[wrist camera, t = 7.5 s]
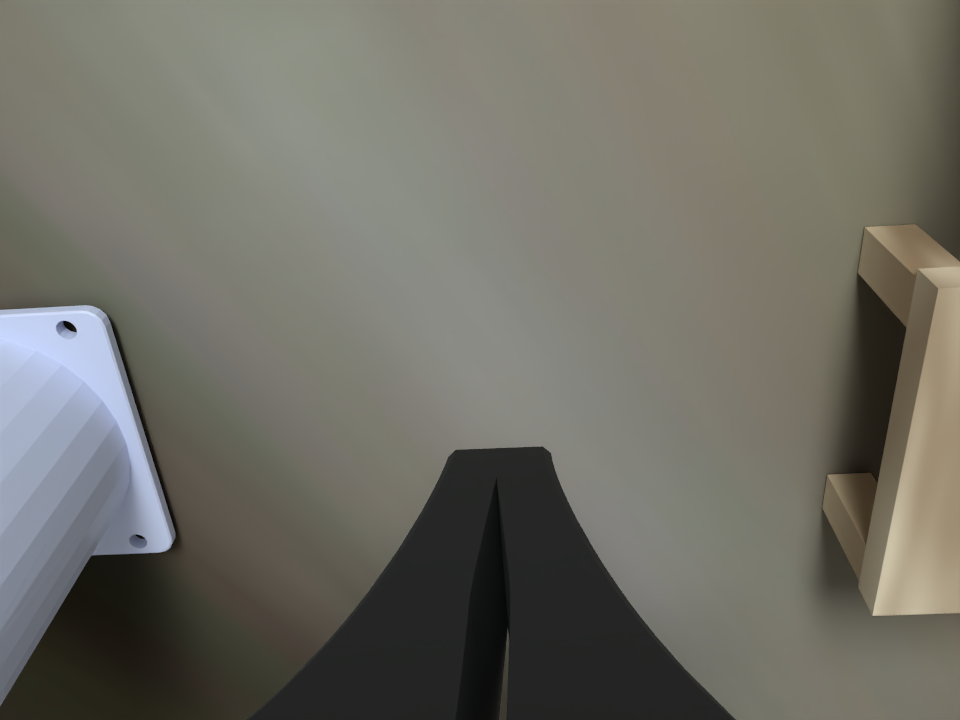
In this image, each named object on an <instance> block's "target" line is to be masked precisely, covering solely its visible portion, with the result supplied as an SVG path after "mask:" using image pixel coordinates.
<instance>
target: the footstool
mask: <svg viewBox="0 0 960 720" xmlns="http://www.w3.org/2000/svg"><path fill="white" fill-rule="evenodd" d="M858 274H859V275H860V276H861V277H862V278H863V279H864V280H865V281H866V283H867V284H868V285H869V286H870V287H871V288H872V289H873V290H874V292H875V293H876V294H877V295H878V296H879V297H880V298H881V299H882V301H883V302H884V303H885V304H886V305H887V306H888V307H889V309H890V310H891V311H892V312H893V313H894V314H895V315H896V316H897V318H898V319H899V320H900V321H901V322H902V323H903V324H904V325H905V327H906V328H907V329H906V335H905V340H904V345H903V351H902V356H901V361H900V367H899V372H898V377H897V383H896V388H895V393H894V399H893V404H892V409H891V415H890V420H889V425H888V431H887V436H886V441H885V447H884V452H883V457H882V463H881V468H880V473H879V479H878V484H877V482H876V481H875V479H874V477H873V476H872V474H871V473H854V474H830V475H827V480H826V487H825V493H824V500H823V507H822V509H823V511H824V513H825V515H826V516H827V518H828V520H829V522H830V524H831V526H832V528H833V530H834V532H835V534H836V536H837V538H838V540H839V542H840V544H841V546H842V548H843V550H844V552H845V554H846V556H847V558H848V560H849V562H850V564H851V566H852V568H853V570H854V572H855V574H856V576H857V578H858V580H859V586H858V588H859V590H860V592H861V594H862V596H863V598H864V600H865V602H866V604H867V606H868V608H869V610H870V612H871V614H872V616H884V615H914V614H943V613H960V262H959V261H958V260H957V259H956V258H955V257H954V256H952V255H951V254H950V253H949V252H948V251H946V250H945V249H944V248H943V247H942V246H941V245H939V244H938V243H937V242H936V241H935V240H934V239H932V238H931V237H930V236H929V235H928V234H927V233H925V232H924V231H923V230H922V229H921V228H919V227H918V226H917V225H916V224H911V225H894V226H877V227H865V229H864V236H863V242H862V249H861V256H860V262H859V269H858Z"/></svg>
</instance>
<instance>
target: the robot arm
mask: <svg viewBox="0 0 960 720" xmlns="http://www.w3.org/2000/svg"><path fill="white" fill-rule="evenodd" d="M63 321H69V322H70V323H72V324H73V325H74V326H75V327H76V329H77V332H72V331H70V330H68V329H67V328H66V327H65V326H64V324H63ZM135 534H137V535H141V536H143V537H145V539H140V538H139V537H137V536H136V535H135ZM174 539H175V530H174V527H173V523H172V520H171V517H170V514H169V511H168V507H167V504H166V501H165V498H164V494H163V491H162V488H161V485H160V481H159V478H158V475H157V472H156V469H155V465H154V462H153V459H152V456H151V452H150V449H149V446H148V443H147V439H146V436H145V433H144V430H143V427H142V423H141V420H140V417H139V414H138V410H137V407H136V404H135V401H134V398H133V394H132V391H131V388H130V385H129V381H128V378H127V375H126V372H125V368H124V365H123V362H122V359H121V356H120V352H119V349H118V346H117V343H116V339H115V336H114V333H113V330H112V326H111V323H110V321H109V319H108V317H107V315H106V314H105V313H104V312H103V311H101V310H100V309H98V308H96V307H94V306H87V305H83V306H65V307H47V308H29V309H11V310H0V706H1V704H2V703H3V701H4V699H5V698H6V696H7V694H8V693H9V691H10V689H11V688H12V686H13V685H14V683H15V681H16V680H17V678H18V676H19V675H20V673H21V671H22V670H23V668H24V666H25V665H26V663H27V661H28V660H29V658H30V656H31V655H32V653H33V651H34V650H35V648H36V646H37V645H38V643H39V641H40V640H41V638H42V636H43V635H44V633H45V631H46V630H47V628H48V626H49V625H50V623H51V621H52V620H53V618H54V616H55V615H56V613H57V611H58V610H59V608H60V606H61V605H62V603H63V601H64V600H65V598H66V596H67V595H68V593H69V592H70V590H71V588H72V587H73V585H74V583H75V582H76V580H77V578H78V577H79V575H80V573H81V572H82V570H83V568H84V567H85V565H86V563H87V562H88V560H89V558H90V557H91V555H112V554H137V553H160V552H165V551H167V550H168V549H170V547H171V545H172V543H173V541H174ZM507 629H508V631H509V669H508V699H507V720H736V719H734V718H733V717H732V716H731V715H730V714H729V713H728V712H727V711H726V710H725V709H724V708H723V707H722V706H721V705H720V704H719V703H718V702H717V701H716V700H715V699H714V698H713V697H712V696H711V695H710V694H709V693H708V692H707V691H706V690H705V689H704V688H703V687H702V686H701V685H700V684H699V683H698V682H697V681H696V680H695V679H694V678H693V677H692V676H691V675H690V674H689V673H688V672H687V671H686V670H685V669H684V668H683V666H682V665H681V664H680V663H679V662H678V661H677V660H676V659H675V657H674V656H673V655H672V654H671V653H670V652H669V651H668V649H667V648H666V647H665V646H664V645H663V644H662V643H661V641H660V640H659V639H658V638H657V637H656V636H655V634H654V633H653V632H652V631H651V629H650V628H649V627H648V626H647V624H646V623H645V622H644V621H643V619H642V618H641V617H640V616H639V614H638V613H637V612H636V611H635V609H634V608H633V607H632V605H631V604H630V603H629V601H628V600H627V598H626V597H625V596H624V594H623V593H622V591H621V590H620V589H619V587H618V586H617V584H616V583H615V581H614V580H613V578H612V577H611V575H610V574H609V572H608V571H607V569H606V568H605V566H604V565H603V563H602V562H601V560H600V558H599V557H598V555H597V554H596V552H595V550H594V549H593V547H592V545H591V544H590V542H589V540H588V538H587V537H586V535H585V533H584V531H583V529H582V528H581V526H580V524H579V522H578V521H577V519H576V517H575V515H574V513H573V511H572V509H571V507H570V505H569V503H568V501H567V498H566V496H565V494H564V492H563V490H562V487H561V485H560V482H559V480H558V477H557V475H556V472H555V469H554V465H553V462H552V457H551V453H550V452H549V451H547V450H546V449H545V448H544V447H519V448H494V449H468V450H455V451H454V452H453V453H452V454H451V455H450V456H449V457H448V459H447V462H446V464H445V467H444V469H443V471H442V473H441V476H440V478H439V480H438V482H437V484H436V486H435V488H434V490H433V492H432V494H431V495H430V497H429V499H428V501H427V503H426V505H425V506H424V508H423V510H422V512H421V514H420V515H419V517H418V518H417V520H416V522H415V523H414V525H413V527H412V528H411V530H410V532H409V533H408V535H407V537H406V538H405V540H404V541H403V543H402V545H401V546H400V548H399V549H398V551H397V552H396V554H395V555H394V557H393V558H392V560H391V561H390V562H389V564H388V565H387V567H386V568H385V569H384V571H383V572H382V574H381V575H380V576H379V578H378V579H377V581H376V582H375V584H374V585H373V586H372V588H371V589H370V591H369V592H368V593H367V595H366V596H365V597H364V598H363V600H362V601H361V602H360V603H359V605H358V606H357V607H356V609H355V610H354V611H353V612H352V613H351V615H350V616H349V617H348V618H347V620H346V621H345V622H344V623H343V624H342V625H341V627H340V628H339V629H338V630H337V631H336V632H335V633H334V635H333V636H332V637H331V638H330V639H329V640H328V642H327V643H326V644H325V645H324V646H323V647H322V648H321V649H320V650H319V651H318V652H317V653H316V654H315V655H314V656H313V657H312V658H311V660H310V661H309V662H308V663H307V664H306V665H305V666H304V667H303V668H302V669H301V670H300V671H299V672H298V673H297V674H296V675H295V676H294V677H293V678H292V679H291V680H290V681H289V682H288V683H287V684H286V685H285V686H284V687H283V688H282V689H281V690H280V691H279V692H278V693H277V694H276V695H275V696H274V697H272V698H271V699H270V700H269V701H268V702H267V703H266V704H265V705H263V706H262V707H261V708H260V709H259V710H258V711H257V712H255V713H254V714H253V715H252V716H251V717H250V718H248V719H247V720H499V711H500V701H501V691H502V681H503V670H504V660H505V650H506V640H507Z"/></svg>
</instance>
